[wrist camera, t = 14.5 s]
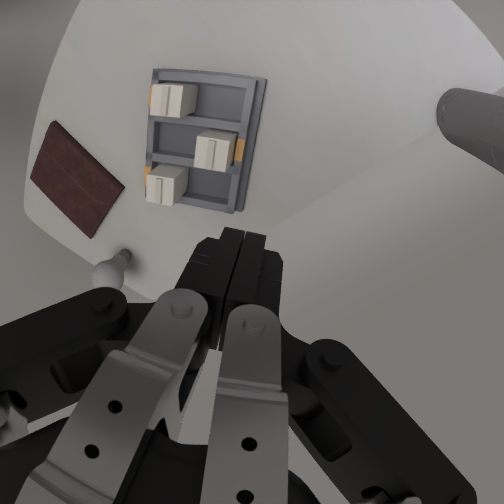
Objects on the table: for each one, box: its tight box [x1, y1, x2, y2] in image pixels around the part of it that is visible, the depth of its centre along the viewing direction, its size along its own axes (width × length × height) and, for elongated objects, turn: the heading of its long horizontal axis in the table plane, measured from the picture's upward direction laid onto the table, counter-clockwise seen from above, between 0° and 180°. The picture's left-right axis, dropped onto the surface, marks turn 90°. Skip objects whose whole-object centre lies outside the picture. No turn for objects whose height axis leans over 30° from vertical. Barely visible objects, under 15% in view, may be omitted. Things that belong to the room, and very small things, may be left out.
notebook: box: [30, 120, 125, 239], centre depth 46 cm, size 15×20×2 cm
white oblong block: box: [146, 163, 189, 206], centre depth 39 cm, size 4×4×7 cm
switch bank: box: [145, 69, 267, 214], centre depth 38 cm, size 16×20×4 cm
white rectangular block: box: [194, 128, 239, 172], centre depth 36 cm, size 4×4×7 cm
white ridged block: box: [150, 83, 199, 118], centre depth 32 cm, size 4×4×7 cm
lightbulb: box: [91, 250, 131, 290], centre depth 49 cm, size 6×6×11 cm
